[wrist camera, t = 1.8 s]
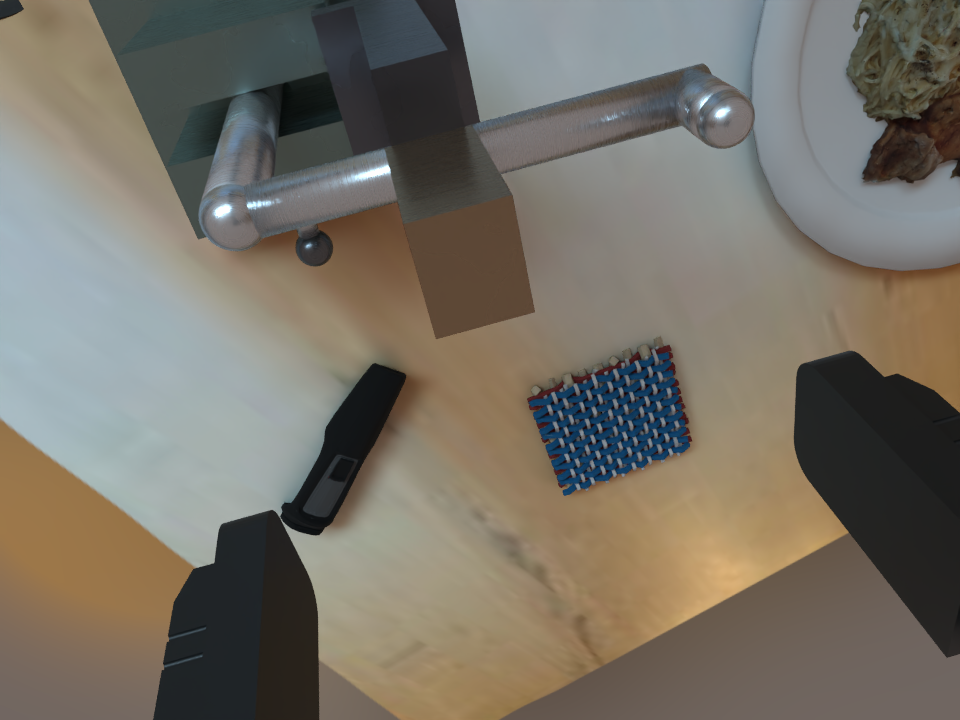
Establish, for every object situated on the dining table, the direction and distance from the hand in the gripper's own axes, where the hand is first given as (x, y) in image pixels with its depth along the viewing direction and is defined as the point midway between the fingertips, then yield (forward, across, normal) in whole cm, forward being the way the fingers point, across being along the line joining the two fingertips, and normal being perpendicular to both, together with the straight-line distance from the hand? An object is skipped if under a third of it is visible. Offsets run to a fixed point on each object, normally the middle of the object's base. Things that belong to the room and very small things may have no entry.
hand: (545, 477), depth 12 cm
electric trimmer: (+34, +10, +25) cm, 44 cm away
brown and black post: (+22, 0, 0) cm, 22 cm away
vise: (+34, +1, +1) cm, 34 cm away
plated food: (+34, -34, +8) cm, 49 cm away
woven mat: (+35, -9, +29) cm, 46 cm away
